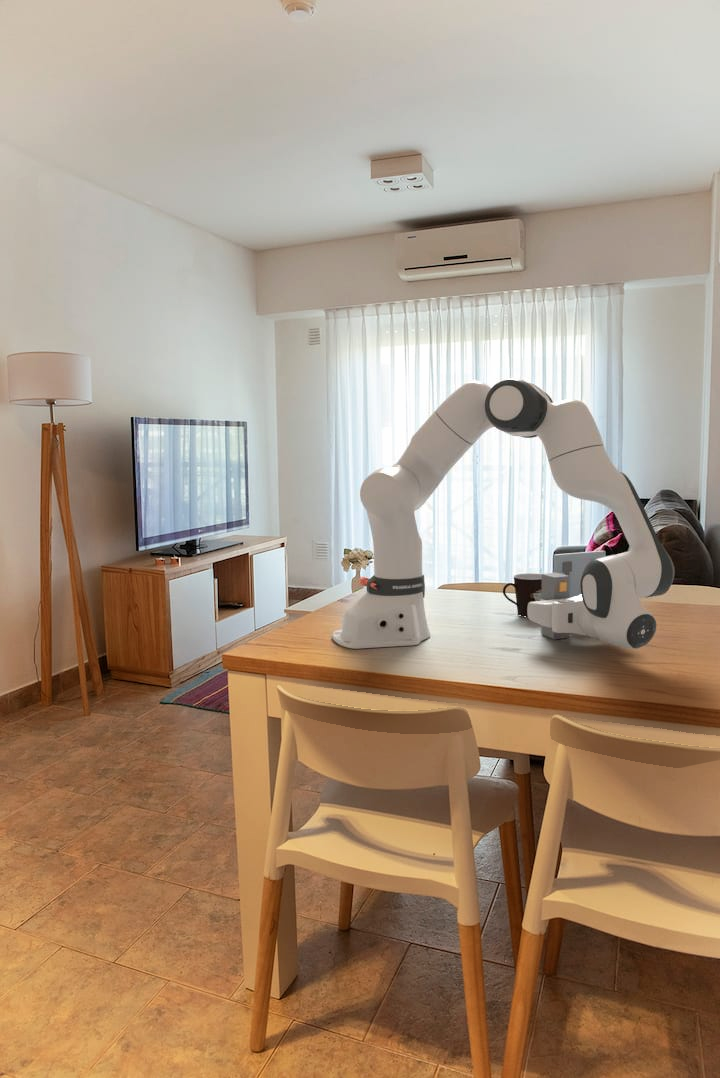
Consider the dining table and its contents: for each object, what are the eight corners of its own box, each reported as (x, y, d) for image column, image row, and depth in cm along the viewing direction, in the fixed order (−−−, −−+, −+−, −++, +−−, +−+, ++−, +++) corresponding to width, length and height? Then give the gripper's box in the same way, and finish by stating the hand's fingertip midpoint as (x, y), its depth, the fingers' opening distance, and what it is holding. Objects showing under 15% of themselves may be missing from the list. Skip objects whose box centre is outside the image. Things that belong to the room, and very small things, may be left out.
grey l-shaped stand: (577, 633, 170) (578, 560, 168) (552, 624, 180) (553, 554, 177) (628, 627, 175) (629, 555, 173) (601, 618, 184) (602, 550, 182)
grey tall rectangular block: (555, 640, 165) (555, 577, 163) (541, 634, 170) (541, 573, 168) (570, 638, 166) (571, 576, 164) (556, 632, 171) (556, 572, 169)
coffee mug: (545, 611, 193) (545, 573, 192) (550, 619, 185) (550, 579, 183) (500, 611, 194) (500, 573, 193) (503, 618, 186) (503, 579, 185)
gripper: (632, 595, 158) (592, 584, 171) (549, 603, 151) (514, 591, 164) (631, 624, 159) (591, 611, 172) (549, 634, 152) (514, 619, 165)
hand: (553, 601), depth 168 cm, fingers closed on grey tall rectangular block, 4 cm apart
